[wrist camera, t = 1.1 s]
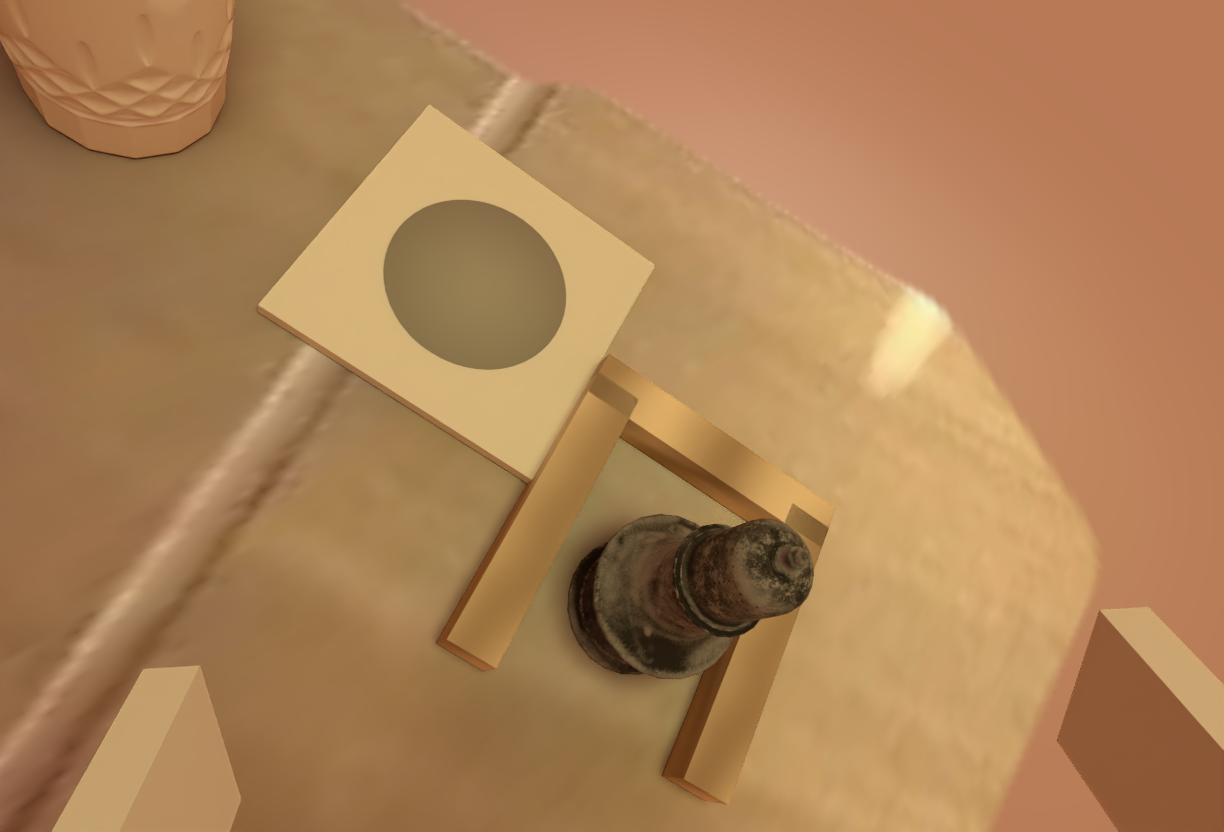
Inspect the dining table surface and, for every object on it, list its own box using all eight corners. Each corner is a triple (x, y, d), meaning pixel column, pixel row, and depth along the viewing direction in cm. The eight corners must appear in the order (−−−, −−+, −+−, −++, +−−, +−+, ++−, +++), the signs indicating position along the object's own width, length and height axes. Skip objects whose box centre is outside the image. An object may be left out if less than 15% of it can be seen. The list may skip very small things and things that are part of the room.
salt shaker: (665, 514, 36) (843, 431, 25) (715, 651, 35) (923, 623, 24) (539, 557, 33) (681, 483, 23) (590, 706, 32) (763, 702, 21)
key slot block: (435, 643, 30) (446, 639, 29) (593, 369, 36) (609, 354, 35) (704, 800, 32) (728, 804, 31) (811, 516, 38) (835, 508, 37)
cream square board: (257, 311, 32) (257, 303, 31) (426, 113, 37) (429, 103, 37) (527, 483, 34) (533, 479, 33) (649, 271, 39) (656, 264, 39)
